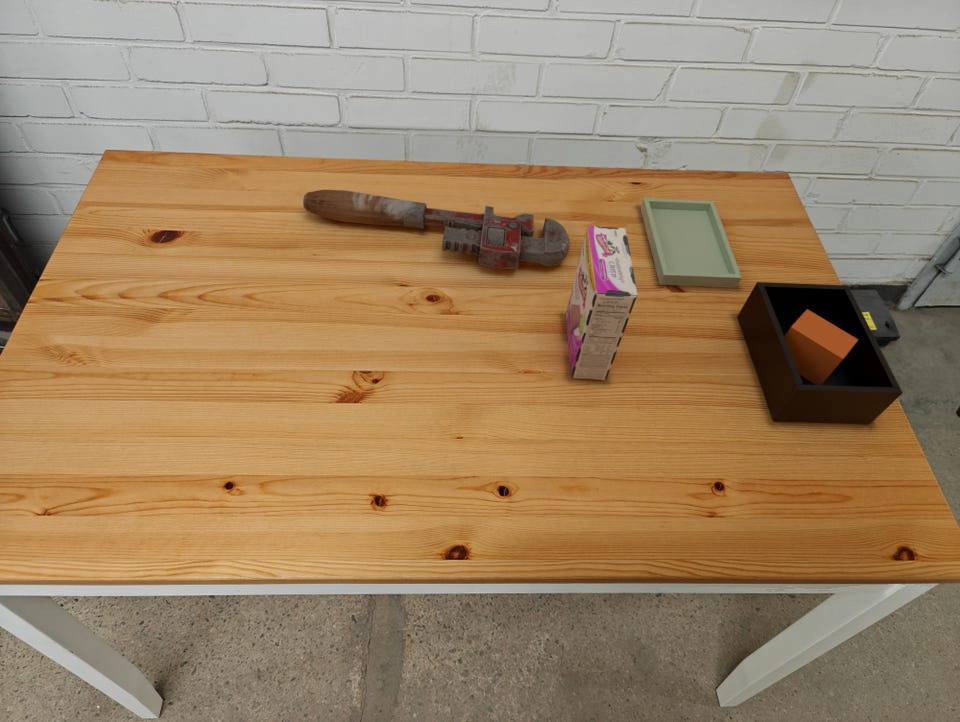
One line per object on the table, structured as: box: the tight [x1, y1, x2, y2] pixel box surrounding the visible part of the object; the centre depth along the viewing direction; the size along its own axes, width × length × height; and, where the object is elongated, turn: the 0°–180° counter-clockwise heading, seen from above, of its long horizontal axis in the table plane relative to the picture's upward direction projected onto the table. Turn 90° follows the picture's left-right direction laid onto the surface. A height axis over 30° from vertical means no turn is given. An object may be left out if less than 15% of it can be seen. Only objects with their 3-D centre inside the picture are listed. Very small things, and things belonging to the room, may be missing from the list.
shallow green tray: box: [639, 197, 743, 289], centre depth 97 cm, size 18×12×2 cm, turn 0°
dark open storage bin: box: [736, 281, 903, 425], centre depth 81 cm, size 18×13×7 cm
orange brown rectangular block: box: [784, 309, 858, 385], centre depth 81 cm, size 7×4×6 cm, turn 45°
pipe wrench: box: [302, 189, 571, 270], centre depth 93 cm, size 40×12×5 cm, turn 85°
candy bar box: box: [565, 225, 639, 381], centre depth 77 cm, size 11×5×16 cm, turn 179°
